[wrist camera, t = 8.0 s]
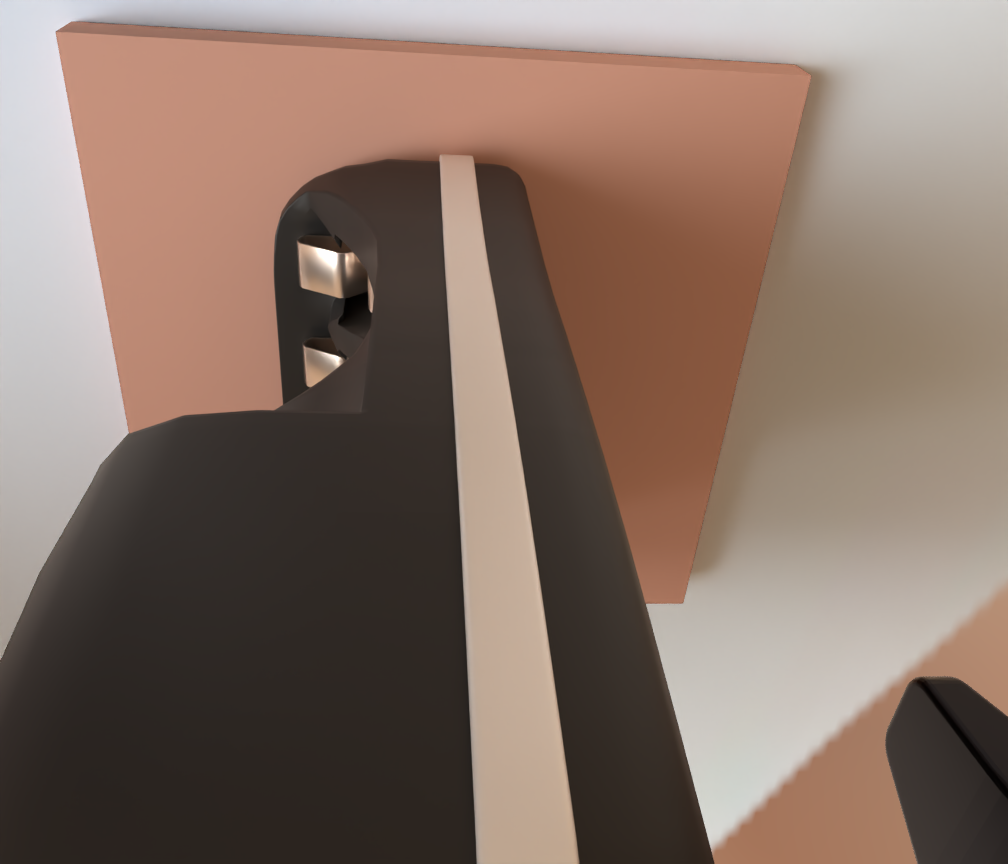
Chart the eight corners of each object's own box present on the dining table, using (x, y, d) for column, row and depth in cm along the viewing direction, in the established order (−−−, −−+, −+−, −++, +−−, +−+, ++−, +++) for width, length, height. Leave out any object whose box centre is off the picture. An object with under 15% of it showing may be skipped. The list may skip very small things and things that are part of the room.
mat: (168, 579, 16) (160, 603, 16) (72, 21, 11) (55, 31, 11) (675, 580, 17) (683, 603, 17) (795, 65, 12) (811, 75, 12)
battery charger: (216, 121, 11) (-794, 1695, 2) (526, 136, 12) (958, 1510, 2) (259, 555, 15) (-4, 1783, 6) (492, 556, 16) (599, 1711, 6)
